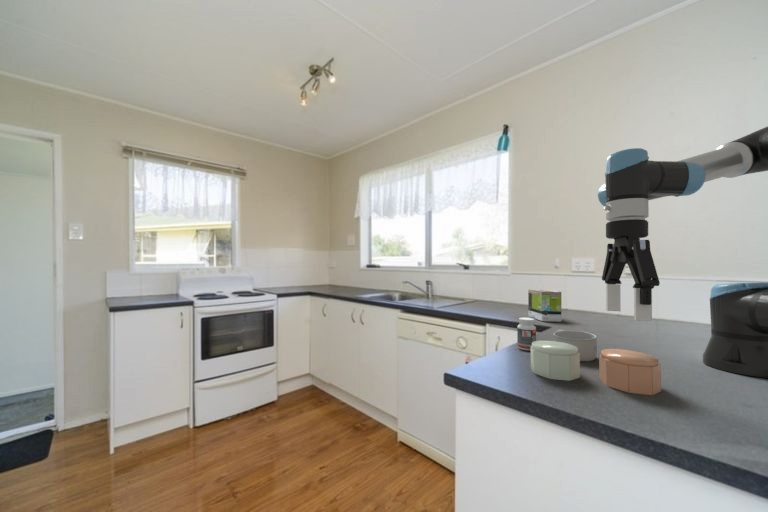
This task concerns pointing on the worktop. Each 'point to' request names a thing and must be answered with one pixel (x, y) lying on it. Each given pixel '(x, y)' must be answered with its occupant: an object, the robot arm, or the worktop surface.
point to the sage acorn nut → (555, 360)
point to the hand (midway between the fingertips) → (626, 315)
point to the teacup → (579, 342)
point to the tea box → (544, 305)
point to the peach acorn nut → (630, 371)
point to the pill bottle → (526, 333)
